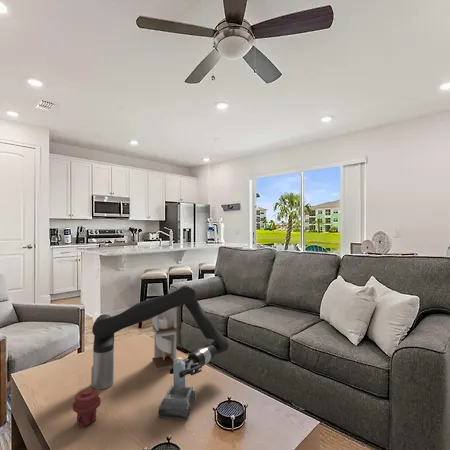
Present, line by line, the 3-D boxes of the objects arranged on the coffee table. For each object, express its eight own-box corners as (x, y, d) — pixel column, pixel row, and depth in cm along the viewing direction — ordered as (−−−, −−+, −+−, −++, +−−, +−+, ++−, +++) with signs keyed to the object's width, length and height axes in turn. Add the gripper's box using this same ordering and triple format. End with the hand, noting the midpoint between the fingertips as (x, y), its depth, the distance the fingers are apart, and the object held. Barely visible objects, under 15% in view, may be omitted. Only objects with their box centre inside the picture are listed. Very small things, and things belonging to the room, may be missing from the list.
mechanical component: (105, 416, 125) (90, 432, 115) (83, 412, 127) (66, 428, 117) (105, 386, 125) (90, 400, 115) (83, 383, 127) (66, 396, 117)
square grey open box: (158, 418, 124) (158, 403, 124) (169, 397, 138) (169, 384, 138) (187, 420, 122) (187, 406, 122) (195, 399, 137) (195, 386, 137)
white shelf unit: (152, 361, 174) (152, 299, 173) (170, 357, 178) (171, 298, 178) (156, 370, 163) (157, 305, 163) (176, 366, 168) (176, 302, 167)
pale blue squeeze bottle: (172, 388, 130) (171, 360, 130) (175, 382, 135) (175, 355, 135) (183, 389, 129) (183, 361, 129) (186, 383, 134) (186, 356, 134)
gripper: (187, 347, 148) (162, 360, 133) (212, 354, 140) (188, 369, 126) (187, 362, 148) (162, 377, 134) (212, 370, 140) (188, 387, 126)
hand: (175, 373), depth 130 cm, fingers closed on pale blue squeeze bottle, 5 cm apart
